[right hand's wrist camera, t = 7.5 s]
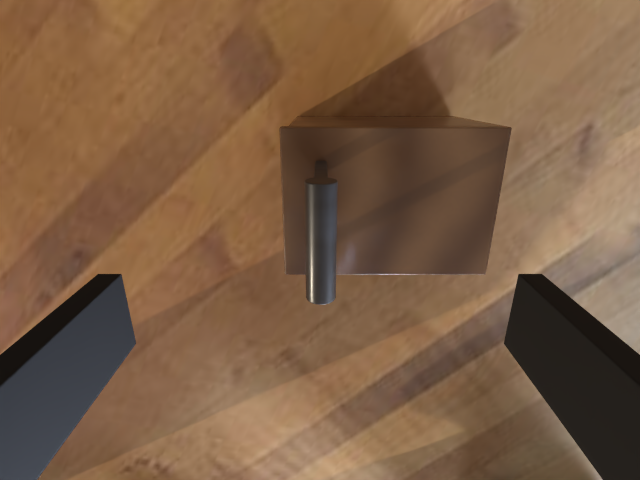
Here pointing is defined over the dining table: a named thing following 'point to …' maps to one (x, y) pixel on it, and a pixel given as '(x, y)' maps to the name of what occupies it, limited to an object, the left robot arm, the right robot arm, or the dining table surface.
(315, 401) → the dining table surface
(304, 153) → the lid
